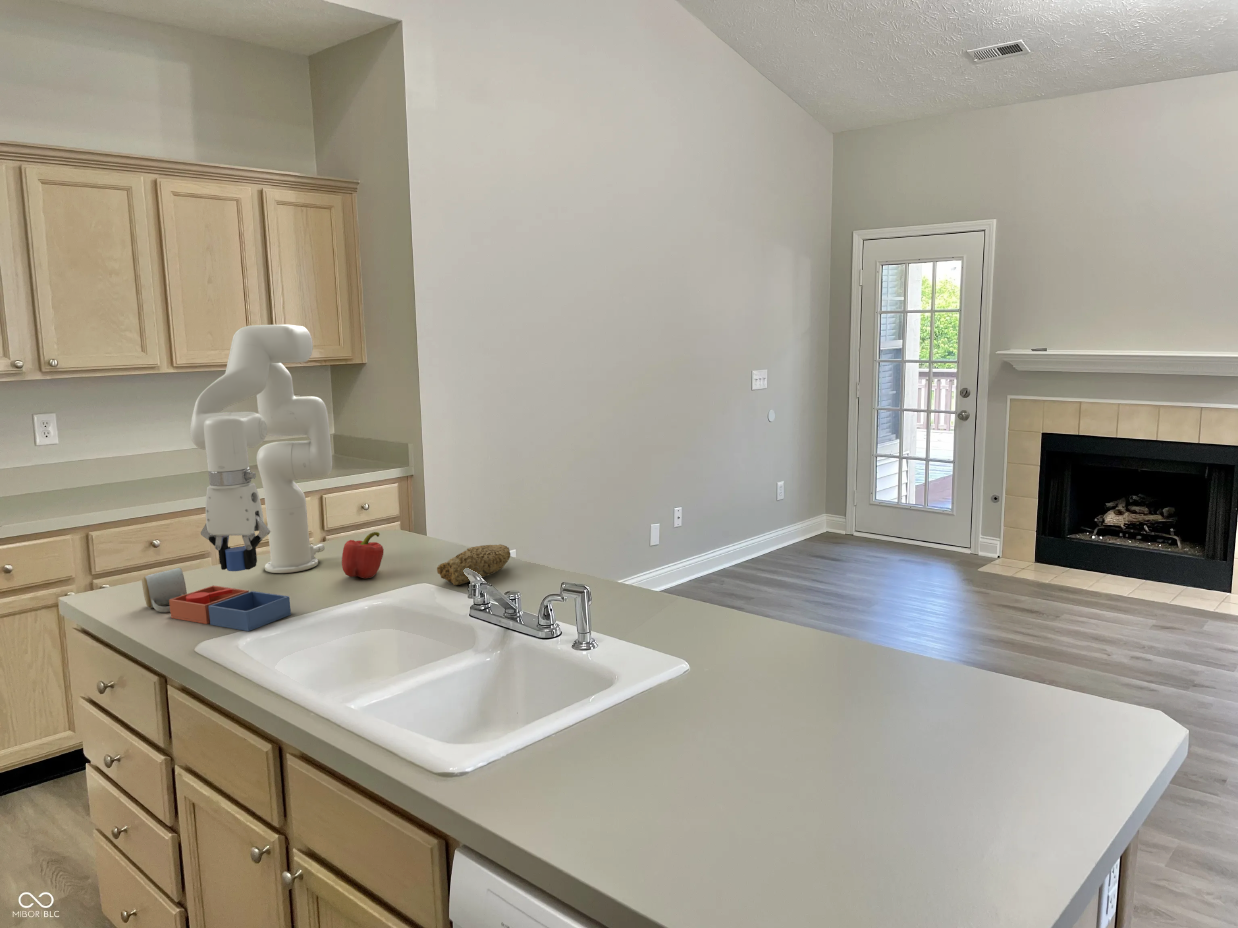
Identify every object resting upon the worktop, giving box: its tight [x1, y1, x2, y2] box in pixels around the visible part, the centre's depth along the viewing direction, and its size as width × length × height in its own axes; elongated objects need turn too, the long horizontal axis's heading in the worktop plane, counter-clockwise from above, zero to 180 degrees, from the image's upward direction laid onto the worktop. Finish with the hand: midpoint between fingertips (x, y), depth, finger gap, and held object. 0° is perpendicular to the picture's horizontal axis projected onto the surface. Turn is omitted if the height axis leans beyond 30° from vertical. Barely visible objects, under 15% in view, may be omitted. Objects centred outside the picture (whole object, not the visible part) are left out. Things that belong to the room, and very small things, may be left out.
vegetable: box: [341, 531, 385, 579], centre depth 217 cm, size 11×10×10 cm
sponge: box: [436, 543, 511, 586], centre depth 214 cm, size 13×8×20 cm
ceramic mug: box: [141, 567, 188, 613], centre depth 198 cm, size 11×8×8 cm
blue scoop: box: [225, 545, 247, 572], centre depth 185 cm, size 9×4×4 cm, turn 173°
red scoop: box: [186, 587, 233, 605], centre depth 193 cm, size 9×4×4 cm, turn 133°
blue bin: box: [208, 590, 292, 632], centre depth 187 cm, size 11×11×4 cm
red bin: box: [169, 585, 250, 625], centre depth 193 cm, size 11×11×4 cm
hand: (238, 566), depth 183 cm, fingers closed on blue scoop, 4 cm apart
